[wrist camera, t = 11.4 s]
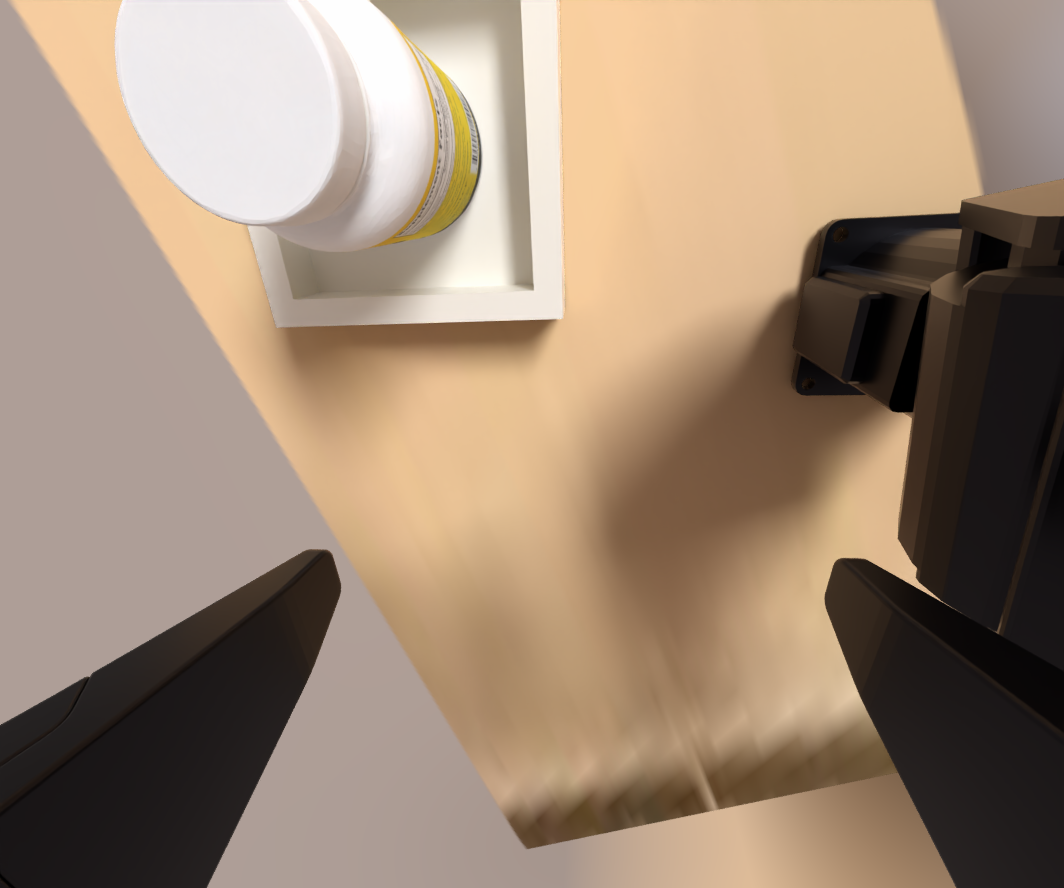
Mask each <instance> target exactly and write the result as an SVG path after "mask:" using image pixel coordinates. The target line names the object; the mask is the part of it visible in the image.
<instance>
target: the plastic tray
mask: <svg viewBox="0 0 1064 888" xmlns="http://www.w3.org/2000/svg"><path fill="white" fill-rule="evenodd" d="M369 1H370V2H371V3H372V4H373V5H374V6H375V7H376V8H378V9H379V10H380V11H381V12H382V13H383V14H384V15H385V16H386V17H387V18H389V19H390V20H391V21H392V22H393V23H394V24H395V25H396V26H397V27H398V28H399V29H400V30H401V32H402V33H403V34H404V35H405V36H406V37H408V38H409V39H410V40H411V41H412V42H413V43H414V44H415V45H416V46H417V47H418V48H419V49H420V50H421V51H422V52H423V53H424V54H425V55H426V56H427V57H428V58H429V59H430V60H432V61H433V62H434V63H435V64H436V65H437V66H438V67H439V68H440V69H441V70H442V71H443V72H444V73H445V74H446V75H447V76H448V77H449V78H450V79H451V80H452V81H453V82H454V83H455V84H456V86H457V87H458V88H459V89H460V91H461V92H462V93H463V95H464V96H465V98H466V100H467V101H468V103H469V105H470V107H471V109H472V111H473V113H474V116H475V118H476V121H477V124H478V127H479V131H480V135H481V141H482V151H483V163H482V172H481V178H480V182H479V186H478V188H477V191H476V194H475V196H474V198H473V200H472V202H471V204H470V206H469V207H468V209H467V210H466V211H465V213H464V214H463V215H462V216H461V217H460V218H459V219H458V220H457V221H456V222H455V223H454V224H452V225H451V226H450V227H448V228H447V229H445V230H443V231H441V232H439V233H437V234H434V235H431V236H427V237H424V238H419V239H414V240H408V241H403V242H399V243H394V244H388V245H383V246H377V247H372V248H367V249H362V250H356V251H350V252H327V251H320V250H314V249H310V248H307V247H303V246H300V245H298V244H295V243H293V242H291V241H289V240H286V239H284V238H283V237H281V236H279V235H277V234H276V233H274V232H272V231H271V230H269V229H268V228H266V227H265V226H250V225H247V226H248V230H249V233H250V237H251V240H252V244H253V248H254V251H255V255H256V258H257V262H258V265H259V269H260V272H261V276H262V279H263V283H264V286H265V290H266V293H267V297H268V300H269V304H270V308H271V311H272V315H273V318H274V322H275V325H276V328H279V327H312V326H345V325H378V324H410V323H443V322H476V321H509V320H542V319H563V315H564V310H565V272H564V216H563V160H562V104H561V48H560V0H369Z"/></svg>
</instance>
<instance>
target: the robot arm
mask: <svg viewBox="0 0 1064 888" xmlns="http://www.w3.org/2000/svg"><path fill="white" fill-rule="evenodd" d="M840 227H841V228H842V230H843V235H842V237H841V238H840V239H839V240H838V241H836V242H835V241H834V240H833V234H834V232H835V230H837V229H838V228H840ZM793 348H794V350H795V351H796V352H797V356H796V361H795V366H794V371H793V376H792V381H791V382H792V387H793V389H794V390H795V391H797V392H798V393H799V394H801V395H806V396H809V395H868V396H869V397H871V398H872V399H874V400H875V401H877V402H879V403H880V404H882V405H883V406H885V407H886V408H888V409H889V410H891V411H893V412H903V413H905V414H906V415H908V416H909V417H911V418H912V423H911V431H910V438H909V445H908V453H907V460H906V468H905V475H904V482H903V490H902V497H901V504H900V512H899V522H898V540H899V541H900V543H901V545H902V546H903V548H904V550H905V552H906V553H907V555H908V557H909V558H910V560H911V562H912V563H913V564H914V565H915V566H916V567H917V572H916V578H917V580H918V581H919V583H921V584H922V585H923V586H924V587H926V588H927V589H928V590H929V591H930V592H932V593H933V594H934V595H935V596H936V597H938V598H939V599H940V600H941V601H943V602H944V603H946V604H947V605H946V604H944V603H942V602H941V601H939V600H937V599H935V598H934V597H932V596H930V595H928V594H927V593H925V592H923V591H921V590H919V589H918V588H916V587H914V586H912V585H911V584H909V583H907V582H905V581H904V580H902V579H900V578H898V577H896V576H895V575H893V574H891V573H889V572H888V571H886V570H884V569H882V568H881V567H879V566H877V565H875V564H873V563H872V562H870V561H868V560H866V559H861V558H840V559H838V560H836V562H835V563H834V565H833V568H832V572H831V575H830V579H829V582H828V586H827V589H826V592H825V606H826V610H827V612H828V615H829V618H830V620H831V623H832V626H833V628H834V631H835V633H836V636H837V639H838V641H839V644H840V646H841V649H842V652H843V654H844V657H845V660H846V662H847V665H848V667H849V670H850V673H851V675H852V678H853V680H854V683H855V685H856V688H857V690H858V693H859V695H860V697H861V699H862V701H863V704H864V706H865V708H866V710H867V712H868V714H869V716H870V718H871V720H872V722H873V724H874V726H875V728H876V730H877V732H878V734H879V736H880V738H881V740H882V742H883V744H884V746H885V748H886V749H887V751H888V753H889V755H890V757H891V759H892V761H893V763H894V765H895V767H896V769H897V771H898V773H899V775H900V777H901V779H902V781H903V783H904V785H905V787H906V789H907V791H908V793H909V795H910V797H911V799H912V801H913V803H914V805H915V807H916V809H917V811H918V813H919V814H920V817H921V819H922V821H923V823H924V825H925V827H926V828H927V831H928V833H929V834H930V836H931V838H932V840H933V842H934V844H935V846H936V848H937V850H938V852H939V854H940V856H941V858H942V860H943V862H944V864H945V866H946V868H947V870H948V872H949V874H950V876H951V878H952V880H953V882H954V884H955V886H956V888H1064V179H1060V180H1055V181H1050V182H1046V183H1041V184H1036V185H1031V186H1027V187H1022V188H1017V189H1013V190H1008V191H1003V192H998V193H993V194H988V195H984V196H979V197H974V198H969V199H965V200H962V202H961V209H960V213H947V214H927V215H907V216H887V217H867V218H847V219H836V220H832V221H831V222H829V223H828V224H827V225H826V226H825V227H824V228H823V230H822V233H821V235H820V240H819V245H818V250H817V255H816V260H815V265H814V270H813V275H812V278H810V279H809V280H808V281H807V282H806V283H805V285H804V291H803V296H802V301H801V306H800V311H799V316H798V321H797V327H796V332H795V337H794V342H793ZM806 378H811V382H810V384H808V385H807V386H804V387H802V382H803V381H804V380H805V379H806ZM340 593H341V583H340V579H339V575H338V572H337V568H336V565H335V562H334V558H333V555H332V553H331V552H330V551H328V550H318V549H310V550H306V551H304V552H302V553H300V554H298V555H297V556H295V557H293V558H291V559H290V560H288V561H286V562H285V563H283V564H281V565H279V566H278V567H276V568H274V569H272V570H271V571H269V572H267V573H266V574H264V575H262V576H260V577H259V578H257V579H255V580H253V581H251V582H250V583H248V584H246V585H245V586H243V587H241V588H239V589H238V590H236V591H234V592H232V593H231V594H229V595H227V596H225V597H224V598H222V599H220V600H218V601H217V602H215V603H213V604H212V605H210V606H208V607H206V608H205V609H203V610H201V611H199V612H198V613H196V614H194V615H192V616H191V617H189V618H187V619H185V620H184V621H182V622H180V623H178V624H177V625H175V626H173V627H172V628H170V629H168V630H166V631H165V632H163V633H161V634H159V635H158V636H156V637H154V638H152V639H151V640H149V641H147V642H146V643H144V644H142V645H140V646H139V647H137V648H135V649H133V650H132V651H130V652H128V653H126V654H125V655H123V656H121V657H119V658H118V659H116V660H114V661H112V662H111V663H109V664H107V665H106V666H104V667H102V668H100V669H99V670H97V671H95V672H93V673H92V674H91V676H90V677H84V678H83V679H81V680H79V681H78V682H76V683H74V684H72V685H71V686H69V687H67V688H65V689H64V690H62V691H60V692H58V693H57V694H55V695H53V696H51V697H50V698H48V699H46V700H44V701H43V702H41V703H39V704H37V705H35V706H34V707H32V708H30V709H28V710H26V711H25V712H23V713H21V714H19V715H18V716H16V717H14V718H12V719H10V720H9V721H7V722H5V723H3V724H1V725H0V888H207V886H208V884H209V882H210V880H211V878H212V876H213V874H214V872H215V870H216V868H217V865H218V864H219V862H220V860H221V857H222V855H223V853H224V851H225V849H226V847H227V845H228V843H229V841H230V839H231V837H232V835H233V833H234V831H235V829H236V826H237V824H238V822H239V820H240V818H241V816H242V814H243V812H244V810H245V808H246V806H247V804H248V802H249V800H250V798H251V796H252V794H253V792H254V790H255V788H256V786H257V784H258V781H259V779H260V777H261V775H262V773H263V771H264V769H265V767H266V765H267V763H268V761H269V759H270V757H271V755H272V753H273V750H274V749H275V747H276V744H277V742H278V740H279V738H280V736H281V734H282V732H283V730H284V728H285V726H286V724H287V722H288V720H289V718H290V716H291V714H292V712H293V709H294V708H295V705H296V703H297V701H298V699H299V697H300V695H301V693H302V691H303V689H304V687H305V685H306V683H307V680H308V678H309V676H310V674H311V672H312V669H313V667H314V664H315V662H316V659H317V656H318V654H319V651H320V649H321V646H322V643H323V640H324V638H325V635H326V632H327V629H328V627H329V624H330V621H331V619H332V616H333V613H334V611H335V608H336V605H337V602H338V600H339V597H340ZM948 605H949V606H948ZM951 607H952V608H951ZM953 608H954V609H953ZM958 611H959V612H958ZM960 612H961V613H960ZM965 615H966V616H965ZM990 629H991V630H990ZM992 630H993V631H992ZM994 631H995V632H994ZM996 632H997V633H996Z"/></svg>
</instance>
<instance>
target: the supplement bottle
mask: <svg viewBox="0 0 1064 888" xmlns="http://www.w3.org/2000/svg"><path fill="white" fill-rule="evenodd" d="M115 59H116V70H117V76H118V82H119V86H120V91H121V94H122V98H123V101H124V104H125V107H126V110H127V112H128V115H129V117H130V120H131V122H132V124H133V126H134V128H135V131H136V133H137V135H138V137H139V139H140V140H141V142H142V144H143V146H144V147H145V149H146V151H147V152H148V154H149V155H150V156H151V158H152V159H153V161H154V162H155V164H156V165H157V166H158V167H159V169H160V170H161V171H162V172H163V173H164V174H165V176H166V177H167V178H168V179H169V180H170V181H171V182H172V183H173V184H174V185H175V186H176V187H177V188H178V189H179V190H180V191H181V192H182V193H183V194H185V195H186V196H187V197H188V198H190V199H191V200H192V201H193V202H195V203H196V204H198V205H199V206H201V207H202V208H204V209H206V210H207V211H209V212H211V213H213V214H215V215H217V216H219V217H221V218H224V219H226V220H229V221H232V222H236V223H240V224H244V225H250V226H265V227H266V228H268V229H269V230H271V231H272V232H274V233H276V234H277V235H279V236H281V237H283V238H284V239H286V240H289V241H291V242H293V243H295V244H298V245H300V246H303V247H307V248H310V249H314V250H320V251H327V252H350V251H356V250H362V249H367V248H372V247H377V246H383V245H388V244H394V243H399V242H403V241H408V240H414V239H419V238H424V237H427V236H431V235H434V234H437V233H439V232H441V231H443V230H445V229H447V228H448V227H450V226H451V225H452V224H454V223H455V222H456V221H457V220H458V219H459V218H460V217H461V216H462V215H463V214H464V213H465V211H466V210H467V209H468V207H469V206H470V204H471V202H472V200H473V198H474V196H475V194H476V191H477V188H478V186H479V182H480V178H481V172H482V163H483V151H482V141H481V135H480V131H479V127H478V124H477V121H476V118H475V116H474V113H473V111H472V109H471V107H470V105H469V103H468V101H467V100H466V98H465V96H464V95H463V93H462V92H461V91H460V89H459V88H458V87H457V86H456V84H455V83H454V82H453V81H452V80H451V79H450V78H449V77H448V76H447V75H446V74H445V73H444V72H443V71H442V70H441V69H440V68H439V67H438V66H437V65H436V64H435V63H434V62H433V61H432V60H430V59H429V58H428V57H427V56H426V55H425V54H424V53H423V52H422V51H421V50H420V49H419V48H418V47H417V46H416V45H415V44H414V43H413V42H412V41H411V40H410V39H409V38H408V37H406V36H405V35H404V34H403V33H402V32H401V30H400V29H399V28H398V27H397V26H396V25H395V24H394V23H393V22H392V21H391V20H390V19H389V18H387V17H386V16H385V15H384V14H383V13H382V12H381V11H380V10H379V9H378V8H376V7H375V6H374V5H373V4H372V3H371V2H370V1H369V0H122V3H121V6H120V9H119V12H118V17H117V23H116V29H115Z"/></svg>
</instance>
